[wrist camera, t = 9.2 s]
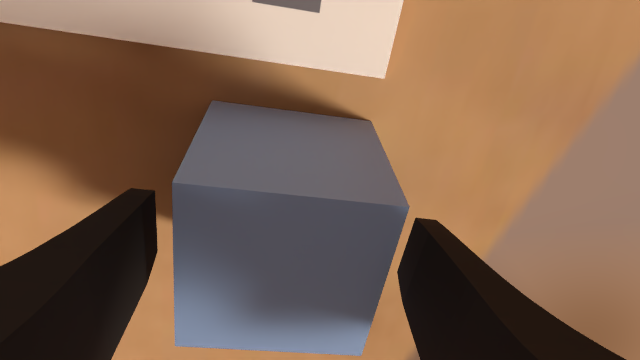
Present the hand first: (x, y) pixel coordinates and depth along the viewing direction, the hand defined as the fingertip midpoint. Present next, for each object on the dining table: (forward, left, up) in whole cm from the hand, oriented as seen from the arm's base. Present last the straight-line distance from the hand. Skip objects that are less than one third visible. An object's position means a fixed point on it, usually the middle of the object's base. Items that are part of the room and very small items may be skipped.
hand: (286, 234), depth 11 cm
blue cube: (0, 0, -3) cm, 3 cm away
